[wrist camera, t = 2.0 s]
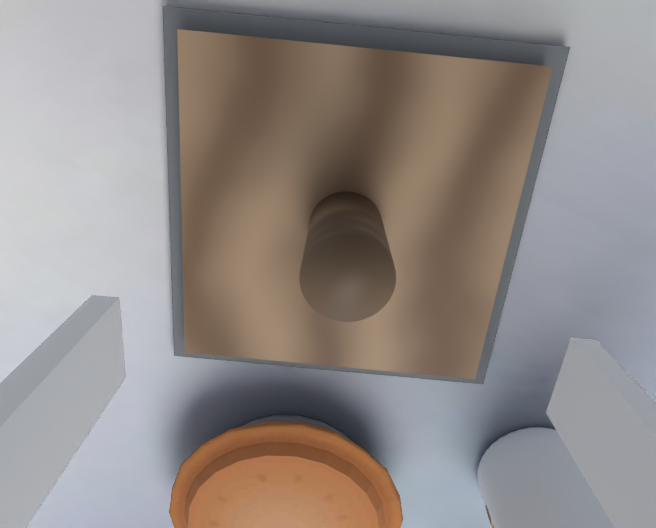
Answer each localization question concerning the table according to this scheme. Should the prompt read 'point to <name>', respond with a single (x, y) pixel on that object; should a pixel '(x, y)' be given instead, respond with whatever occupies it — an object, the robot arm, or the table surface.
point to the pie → (283, 480)
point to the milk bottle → (536, 484)
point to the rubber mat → (364, 39)
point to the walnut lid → (348, 199)
